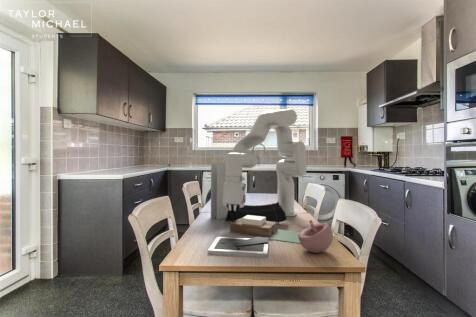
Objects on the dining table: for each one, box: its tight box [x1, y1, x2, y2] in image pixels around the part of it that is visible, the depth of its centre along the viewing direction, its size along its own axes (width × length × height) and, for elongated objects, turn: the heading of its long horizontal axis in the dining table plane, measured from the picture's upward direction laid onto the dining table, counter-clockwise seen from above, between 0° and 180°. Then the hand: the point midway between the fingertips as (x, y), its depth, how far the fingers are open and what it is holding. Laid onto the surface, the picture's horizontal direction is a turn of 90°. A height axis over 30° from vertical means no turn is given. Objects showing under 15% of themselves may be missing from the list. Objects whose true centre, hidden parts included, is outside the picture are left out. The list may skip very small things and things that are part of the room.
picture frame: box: [207, 236, 270, 258], centre depth 105 cm, size 16×3×21 cm
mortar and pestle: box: [298, 219, 334, 254], centre depth 102 cm, size 12×12×11 cm
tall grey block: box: [210, 161, 228, 220], centre depth 155 cm, size 14×6×30 cm, turn 133°
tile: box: [242, 215, 266, 226], centre depth 126 cm, size 7×9×2 cm
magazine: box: [224, 201, 287, 225], centre depth 141 cm, size 17×3×30 cm
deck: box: [229, 218, 278, 238], centre depth 126 cm, size 12×18×4 cm, turn 66°
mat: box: [269, 229, 301, 245], centre depth 120 cm, size 15×14×1 cm
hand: (233, 218), depth 131 cm, fingers closed
